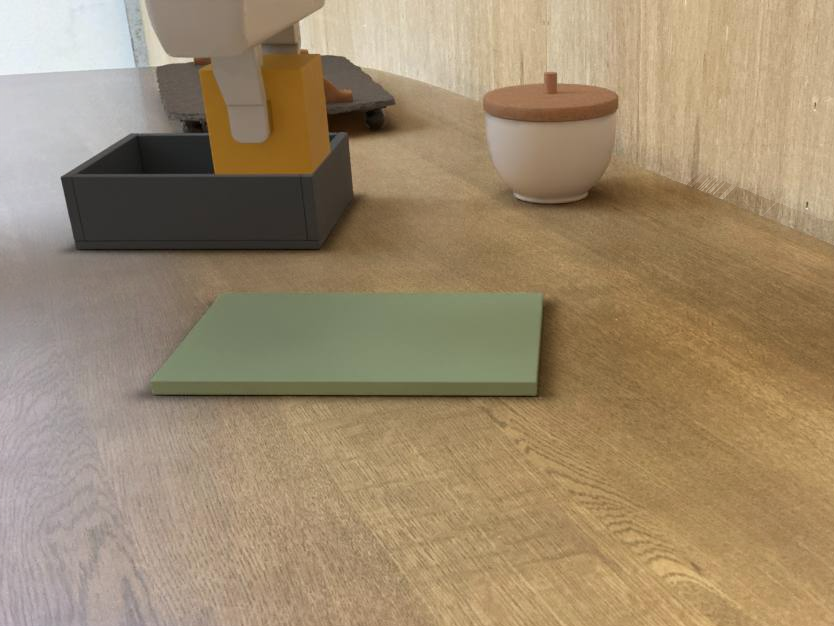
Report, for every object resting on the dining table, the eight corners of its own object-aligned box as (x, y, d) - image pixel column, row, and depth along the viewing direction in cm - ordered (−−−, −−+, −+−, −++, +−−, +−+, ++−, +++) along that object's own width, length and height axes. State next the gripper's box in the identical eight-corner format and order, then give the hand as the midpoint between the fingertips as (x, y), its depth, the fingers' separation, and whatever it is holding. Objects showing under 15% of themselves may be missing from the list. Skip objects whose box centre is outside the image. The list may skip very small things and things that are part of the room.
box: (75, 249, 82) (59, 176, 79) (142, 197, 94) (130, 133, 92) (319, 249, 81) (311, 176, 79) (353, 196, 94) (348, 132, 91)
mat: (152, 395, 59) (149, 380, 59) (223, 304, 71) (221, 292, 71) (536, 396, 59) (536, 381, 58) (543, 304, 71) (543, 292, 70)
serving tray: (157, 87, 140) (147, 32, 137) (344, 76, 146) (339, 23, 143) (170, 152, 108) (159, 82, 105) (409, 134, 114) (405, 68, 111)
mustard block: (214, 174, 58) (198, 69, 55) (239, 152, 62) (225, 54, 60) (312, 174, 58) (300, 68, 55) (330, 152, 62) (320, 53, 59)
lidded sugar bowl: (465, 188, 96) (460, 68, 91) (576, 173, 100) (577, 58, 95) (521, 218, 88) (519, 89, 83) (640, 200, 92) (645, 76, 87)
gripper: (220, -182, 61) (257, 92, 68) (76, -199, 43) (145, 173, 50) (338, -184, 61) (362, 91, 68) (241, -201, 43) (287, 173, 50)
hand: (269, 127), depth 59 cm, fingers closed on mustard block, 5 cm apart
